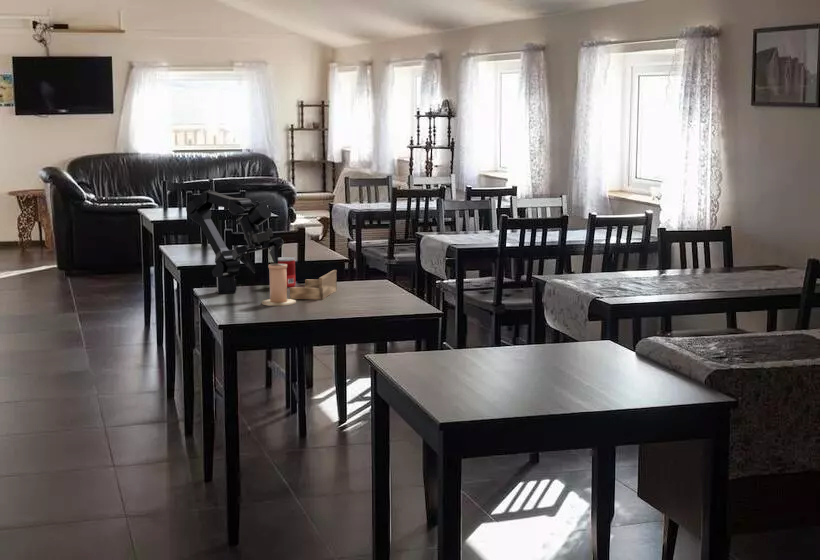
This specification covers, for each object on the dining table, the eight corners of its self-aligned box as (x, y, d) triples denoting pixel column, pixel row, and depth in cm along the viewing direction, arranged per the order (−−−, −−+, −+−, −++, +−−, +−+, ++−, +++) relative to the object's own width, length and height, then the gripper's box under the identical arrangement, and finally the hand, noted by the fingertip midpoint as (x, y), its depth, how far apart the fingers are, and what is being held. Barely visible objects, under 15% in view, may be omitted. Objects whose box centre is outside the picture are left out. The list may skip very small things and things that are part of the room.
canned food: (297, 285, 432) (296, 257, 431) (293, 288, 424) (292, 259, 423) (278, 284, 433) (277, 256, 431) (273, 288, 425) (272, 259, 424)
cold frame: (290, 298, 400) (289, 277, 399) (305, 289, 420) (305, 269, 419) (322, 299, 398) (322, 278, 396) (336, 290, 418) (336, 270, 417)
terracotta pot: (266, 302, 388) (265, 265, 387) (274, 299, 395) (273, 263, 393) (283, 303, 386) (282, 266, 384) (291, 300, 392) (290, 263, 391)
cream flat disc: (265, 306, 383) (265, 305, 383) (259, 301, 394) (259, 299, 394) (299, 304, 387) (299, 303, 386) (292, 299, 398) (292, 297, 398)
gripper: (234, 227, 390) (249, 267, 388) (281, 216, 400) (296, 255, 397) (225, 239, 400) (240, 278, 397) (271, 228, 409) (285, 266, 406)
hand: (266, 269), depth 399 cm, fingers open, 9 cm apart
